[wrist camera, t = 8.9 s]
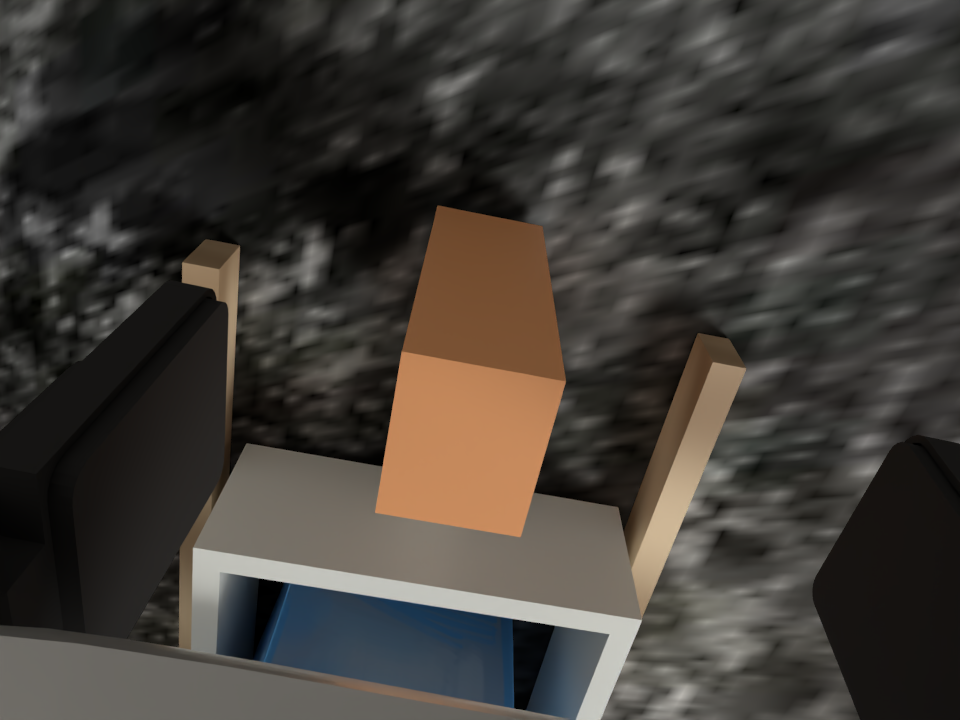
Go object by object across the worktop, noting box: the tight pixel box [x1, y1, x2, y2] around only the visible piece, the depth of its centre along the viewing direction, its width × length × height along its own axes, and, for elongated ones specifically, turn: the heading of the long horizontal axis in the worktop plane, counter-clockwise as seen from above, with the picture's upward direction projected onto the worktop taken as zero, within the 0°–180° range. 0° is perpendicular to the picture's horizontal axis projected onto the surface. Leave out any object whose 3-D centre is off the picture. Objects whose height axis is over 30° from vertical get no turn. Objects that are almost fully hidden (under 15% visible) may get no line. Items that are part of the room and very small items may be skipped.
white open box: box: [191, 206, 642, 720], centre depth 18 cm, size 18×10×7 cm, turn 169°
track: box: [179, 239, 746, 650], centre depth 24 cm, size 28×13×2 cm, turn 169°
